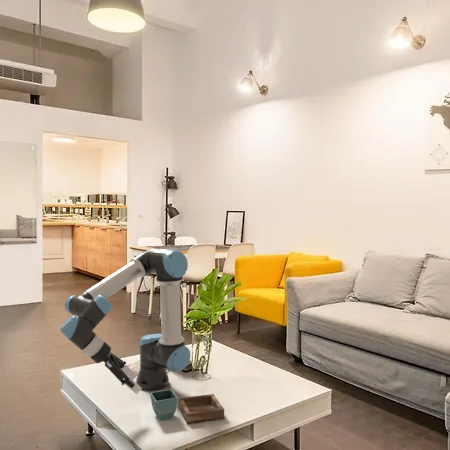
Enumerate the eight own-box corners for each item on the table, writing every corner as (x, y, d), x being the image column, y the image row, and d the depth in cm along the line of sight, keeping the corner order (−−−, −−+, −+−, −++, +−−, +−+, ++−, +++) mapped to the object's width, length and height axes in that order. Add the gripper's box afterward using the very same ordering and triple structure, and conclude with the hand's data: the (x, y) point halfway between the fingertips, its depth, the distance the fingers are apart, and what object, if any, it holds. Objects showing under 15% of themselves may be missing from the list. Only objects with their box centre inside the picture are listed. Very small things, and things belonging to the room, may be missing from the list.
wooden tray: (178, 407, 185) (178, 398, 185) (213, 403, 190) (213, 393, 190) (187, 424, 171) (187, 414, 171) (224, 419, 176) (224, 409, 176)
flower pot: (155, 424, 171) (155, 401, 171) (149, 414, 179) (150, 392, 179) (177, 420, 175) (177, 397, 174) (171, 410, 183) (171, 389, 182)
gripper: (88, 346, 179) (126, 379, 184) (90, 368, 155) (133, 405, 160) (102, 332, 180) (139, 365, 185) (106, 352, 156) (148, 389, 162)
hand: (137, 384), depth 173 cm, fingers open, 13 cm apart
